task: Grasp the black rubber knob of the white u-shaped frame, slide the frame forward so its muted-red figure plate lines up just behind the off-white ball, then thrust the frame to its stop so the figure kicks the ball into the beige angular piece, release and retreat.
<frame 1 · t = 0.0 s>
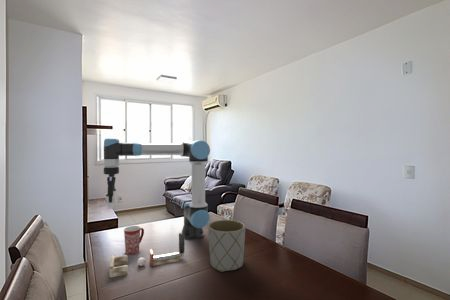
hand: (111, 205, 126), 28 cm above the table, fingers open, 13 cm apart
ball: (141, 261, 116), point 2 cm above the table
mug: (134, 250, 134), on the table
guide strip: (166, 261, 121), on the table
beige angular piece: (118, 269, 112), on the table
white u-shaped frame: (167, 248, 122), point 7 cm above the table, slide at 0.0 cm
planter: (226, 264, 118), on the table
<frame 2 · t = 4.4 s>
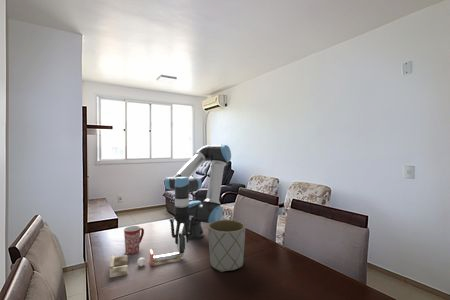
hand: (181, 249, 124), 5 cm above the table, fingers closed on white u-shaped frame, 3 cm apart
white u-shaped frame: (167, 248, 122), point 7 cm above the table, slide at 0.0 cm, touching gripper
everything else where it was.
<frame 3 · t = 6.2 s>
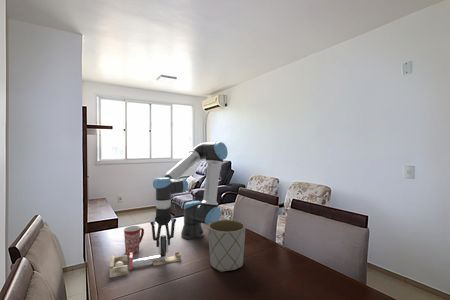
hand: (163, 252, 121), 5 cm above the table, fingers closed on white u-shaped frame, 3 cm apart
ball: (119, 265, 112), point 2 cm above the table, tilted 74°
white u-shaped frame: (148, 251, 118), point 7 cm above the table, slide at 9.8 cm, touching gripper
everything else where it was.
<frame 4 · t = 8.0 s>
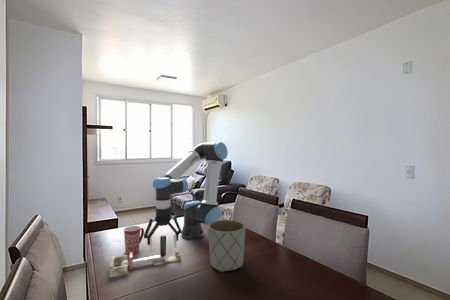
hand: (163, 248, 121), 7 cm above the table, fingers open, 12 cm apart
ball: (125, 264, 113), point 2 cm above the table, tilted 150°
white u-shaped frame: (148, 251, 118), point 7 cm above the table, slide at 9.8 cm
everything else where it was.
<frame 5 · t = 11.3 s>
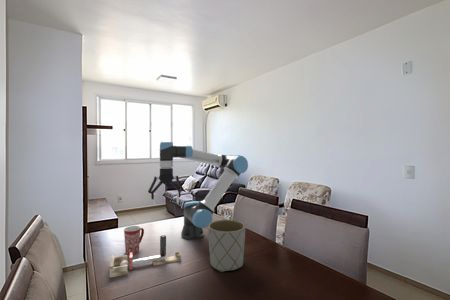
hand: (166, 203, 136), 27 cm above the table, fingers open, 13 cm apart
ball: (124, 264, 113), point 2 cm above the table, tilted 140°
everything else where it was.
at the end: ball inside the target area (1.9 cm from its centre), point 2.0 cm above the table; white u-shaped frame slide at 9.8 cm; the gripper is holding nothing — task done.
